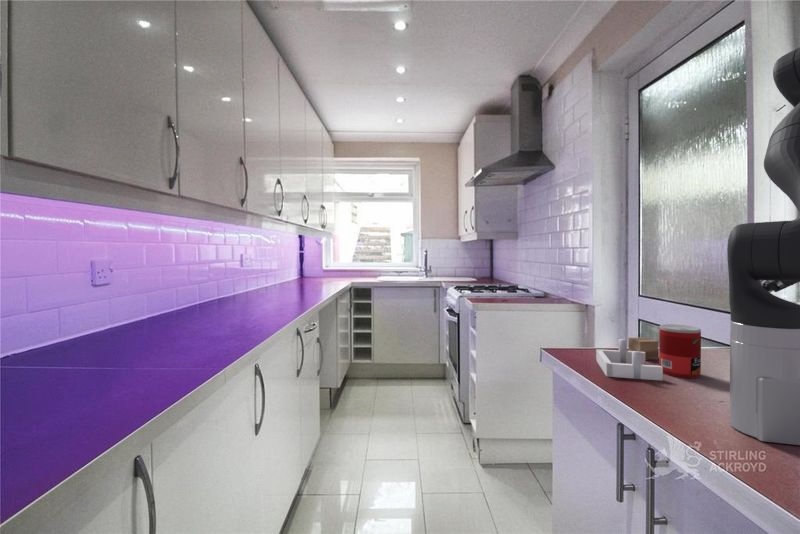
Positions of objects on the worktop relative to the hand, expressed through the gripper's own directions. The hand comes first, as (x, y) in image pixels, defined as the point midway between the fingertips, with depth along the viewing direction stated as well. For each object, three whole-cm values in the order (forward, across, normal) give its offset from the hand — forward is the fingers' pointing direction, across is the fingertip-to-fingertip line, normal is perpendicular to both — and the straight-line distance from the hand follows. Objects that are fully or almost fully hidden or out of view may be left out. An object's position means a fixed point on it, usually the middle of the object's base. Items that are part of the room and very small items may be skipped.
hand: (746, 300), depth 87 cm
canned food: (+22, 0, +4) cm, 22 cm away
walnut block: (+24, -14, +1) cm, 28 cm away
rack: (+29, 0, -4) cm, 29 cm away
